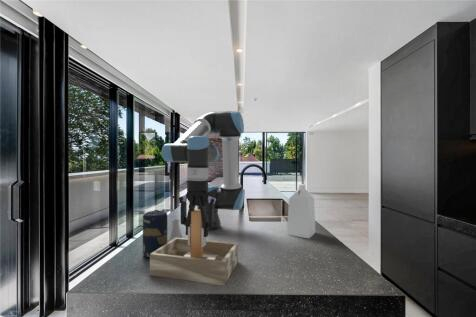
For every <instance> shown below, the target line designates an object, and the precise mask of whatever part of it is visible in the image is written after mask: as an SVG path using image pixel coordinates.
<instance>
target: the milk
mask: <svg viewBox="0 0 476 317" xmlns="http://www.w3.org/2000/svg"><path fill="white" fill-rule="evenodd" d="M315 214H316V211H315V197H314V196H313V195H312V194H311V193H310V192H309V191H308V190H307V189H306V184H305V183H301V184H299V185H298V190H295V191H294V192H293V194H292V195H291V196H290V197H289V199H288V213H287V227H286V235H287V234H288V235H287V236H292V235H293V237H298V238H299V237H300V238H302V239H303V238H305V239H311V238H312V237H313V236H314V235H315V234H316V215H315Z"/></svg>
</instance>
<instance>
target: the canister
mask: <svg viewBox="0 0 476 317" xmlns="http://www.w3.org/2000/svg"><path fill="white" fill-rule="evenodd" d="M167 239H168V212H166V211H163V210H159V209H155V210H151V211H147V212H144V213H143V215H142V255H143V256H144V257H146V258H150V254H151V253H152V252H154V251H155V250H157V249H159V248H160V247H162V246H163V245H165V244H166V243H168V242H167Z"/></svg>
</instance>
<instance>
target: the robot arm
mask: <svg viewBox="0 0 476 317" xmlns="http://www.w3.org/2000/svg"><path fill="white" fill-rule="evenodd" d="M243 118H244V117H243V115H242V114H241V112H240V111H237V110H236V111H232V110H231V111H230V110H228V111H211V112H207V113H205V114H202V115H201V116H199V117H198V118H197V119H196V120H195V121H193V124H192V126H191V127H190V128H188V130H186V131H185V132H184V133H183V134H181V136H180V137H179V138H178V139H177V140H176V141H174V143H171V142H170V143H165V144H164V145H163V146H162V148H161V157H162V160H164V161H165V162H168V163H187V168H186V169H187V173H186V174H187V175H186V178H187V181H186V191H187V192H186V194H185V195H181V196H180V197H178V199H179V203H180V224H181V225H183V226H185V235H186V236H187V239H188V246H190V245H191V211H193V210H200V211H201V217H202V222H203V228H201V247H204V246H205V245H206V240H207V237H208V236H209V234H210V233H209V231H213V230H214V231H215V230H218V229H220V228H221V227H222V222H221V219H220V216H219V210H230V211H239V210H241V209H242V208H243V205H244V201H245V194H246V193H245V191H246V190H245V189H244V188H243V187H242V184H241V183H240V181H239V180H240V179H239V174H240V173H239V171H240V169H239V168H240V167H239V166H240V165H239V139H240V138H241V137H242V135H243V133H244V131H245V125H244V119H243ZM209 134H218V136H219V138H220V139H221V141H222V143H221V144H222V146H221V147H222V176H223V177H222V178H223V179H222V180H223V182H222V184H221V185H220V188H219V186H218V185H209V180H208V179H209V167H210V165H209V164H211V163H214V162H215V161H217V160H218V159H219V154H220V151H219V148H218V147H217V146H216V145H214V144H212V143H210V139H209V137H207V136H208V135H209ZM187 201H188V202H189V205H188V204H187ZM196 206H197V207H196ZM187 207H188V210H187ZM196 208H197V209H196Z"/></svg>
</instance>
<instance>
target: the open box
mask: <svg viewBox="0 0 476 317" xmlns="http://www.w3.org/2000/svg"><path fill="white" fill-rule="evenodd" d="M190 252H191V245H190V246H188V238H187V237H186V238H184V237H183V238H174V239H173V240H171V241H169V242H167V243H166V244H165V245H163V246H162V247H160V248H159V249H157V250H155V251H154V252H152V253H151V254H150V257H149V276H153V277H154V276H155V277H162V278H170V279H175V280H176V279H177V280H183V281H191V282H198V283H204V284H211V285H218V286H219V285H220V286H225V285H226V283H227V281H228V280H229V278H230V276H231V274H232V273H233V271H234V270H235V267H237V264H238V263H239V243H236V242H235V243H234V242H225V241H216V240H207V239H206V245H205V246H204V247H203V256H202V257H200V258H193V257H191V256H190Z"/></svg>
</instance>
